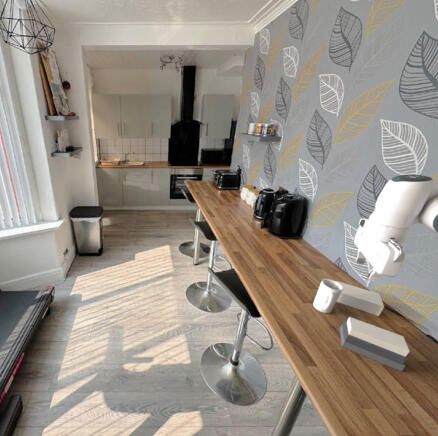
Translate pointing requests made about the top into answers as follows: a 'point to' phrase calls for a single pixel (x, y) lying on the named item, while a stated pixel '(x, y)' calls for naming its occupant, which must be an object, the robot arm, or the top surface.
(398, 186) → the robot arm
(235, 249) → the top surface
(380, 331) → the cream rectangular block
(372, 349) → the grey rectangular block
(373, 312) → the white rectangular block
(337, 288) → the mug
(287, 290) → the top surface
